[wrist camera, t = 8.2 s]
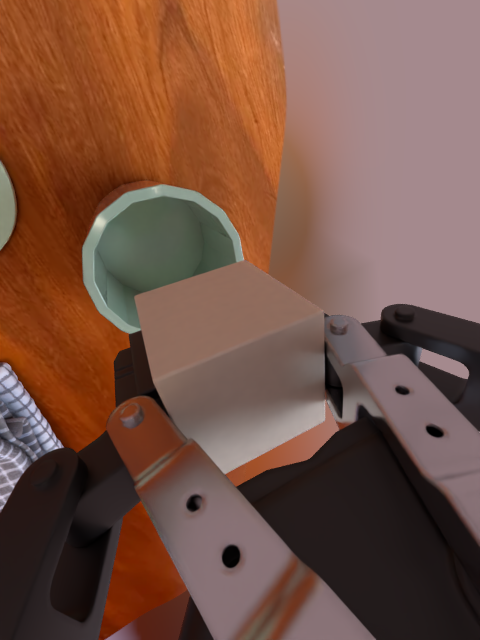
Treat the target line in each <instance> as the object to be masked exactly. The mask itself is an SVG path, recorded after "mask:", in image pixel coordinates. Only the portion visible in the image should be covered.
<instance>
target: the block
mask: <svg viewBox="0 0 480 640" xmlns="http://www.w3.org/2000/svg"><path fill="white" fill-rule="evenodd" d="M134 299H135V304H136V308H137V313H138V317H139V322H140V326H141V331H142V335H143V340H144V344H145V349H146V353H147V358H148V362H149V367H150V371H151V376H152V380H153V383H154V385H155V387H156V389H157V391H158V394H159V396H160V398H161V400H162V402H163V404H164V406H165V408H166V410H167V412H168V414H169V417H170V419H171V420H172V421H173V423H174V424H175V425H176V426H177V427H178V429H179V430H180V431H181V432H182V433H183V434H184V436H185V437H186V438H187V439H189V438H192V439H194V440H195V441H196V442H197V443H198V444H199V446H200V447H201V448H202V449H203V450H204V451H205V452H206V454H207V455H208V456H209V457H210V458H211V459H212V460H213V462H214V463H215V464H216V465H217V466H218V467H219V468H220V470H221V471H222V472H223V473H224V474H226V473H228V472H230V471H232V470H233V469H235V468H237V467H239V466H241V465H243V464H245V463H247V462H249V461H250V460H252V459H254V458H256V457H258V456H260V455H262V454H263V453H266V452H267V451H269V450H271V449H273V448H275V447H277V446H279V445H280V444H283V443H284V442H286V441H288V440H290V439H292V438H294V437H296V436H298V435H299V434H301V433H303V432H305V431H307V430H309V429H311V428H313V427H315V426H316V425H318V424H320V423H322V422H324V421H325V349H324V311H323V310H322V309H320V308H319V307H317V306H315V305H314V304H313V303H311V302H309V301H308V300H306V299H305V298H303V297H302V296H300V295H299V294H297V293H296V292H294V291H293V290H291V289H290V288H288V287H287V286H285V285H283V284H282V283H280V282H278V281H277V280H276V279H274V278H273V277H271V276H270V275H268V274H267V273H265V272H263V271H262V270H260V269H259V268H257V267H256V266H254V265H253V264H251V263H250V262H248V261H247V260H243V261H240V262H237V263H234V264H230V265H227V266H224V267H221V268H218V269H215V270H212V271H209V272H206V273H203V274H200V275H197V276H194V277H191V278H187V279H184V280H181V281H178V282H175V283H172V284H169V285H166V286H163V287H160V288H157V289H154V290H151V291H147V292H144V293H141V294H138V295H136V296H134Z"/></svg>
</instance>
